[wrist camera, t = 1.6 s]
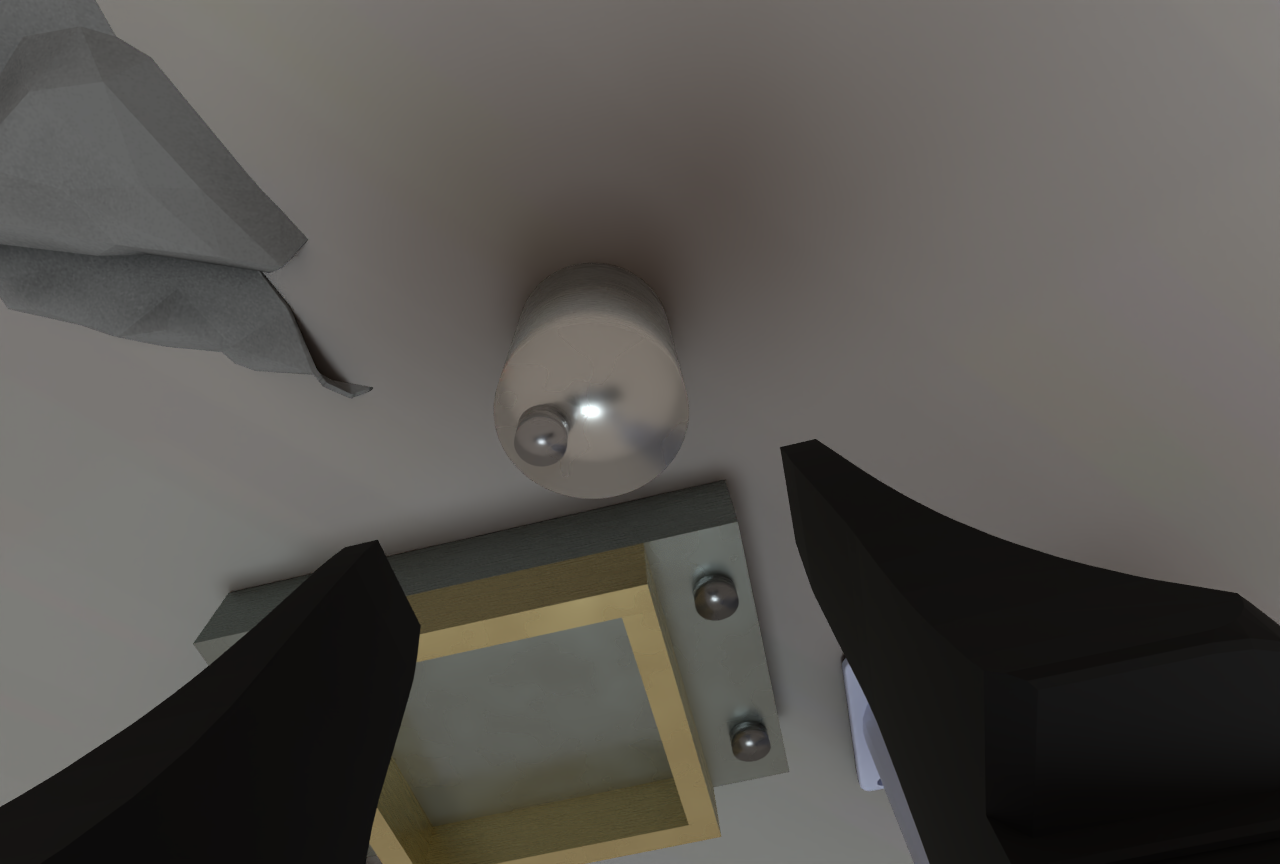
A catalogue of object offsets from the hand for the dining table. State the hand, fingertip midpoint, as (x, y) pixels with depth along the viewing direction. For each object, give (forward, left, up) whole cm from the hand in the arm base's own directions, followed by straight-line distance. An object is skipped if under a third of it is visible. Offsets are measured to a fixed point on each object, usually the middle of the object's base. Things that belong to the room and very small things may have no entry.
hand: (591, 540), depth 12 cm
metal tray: (+7, +12, -10) cm, 18 cm away
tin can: (0, 0, -10) cm, 10 cm away
